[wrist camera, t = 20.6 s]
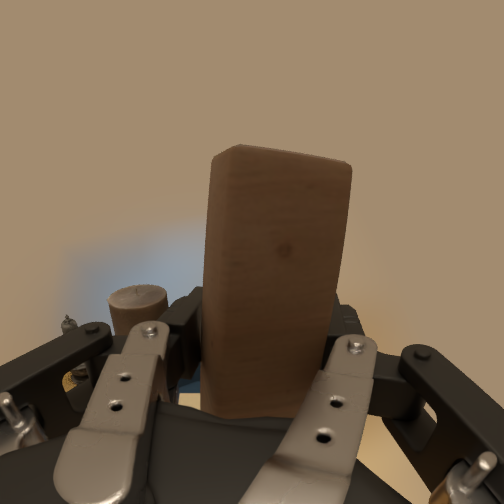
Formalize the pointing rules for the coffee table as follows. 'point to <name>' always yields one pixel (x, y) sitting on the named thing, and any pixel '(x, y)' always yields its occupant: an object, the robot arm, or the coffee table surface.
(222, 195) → the wooden block
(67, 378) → the coffee table surface
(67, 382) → the coffee table surface
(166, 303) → the pillar candle
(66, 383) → the coffee table surface
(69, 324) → the salt shaker
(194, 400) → the cube
